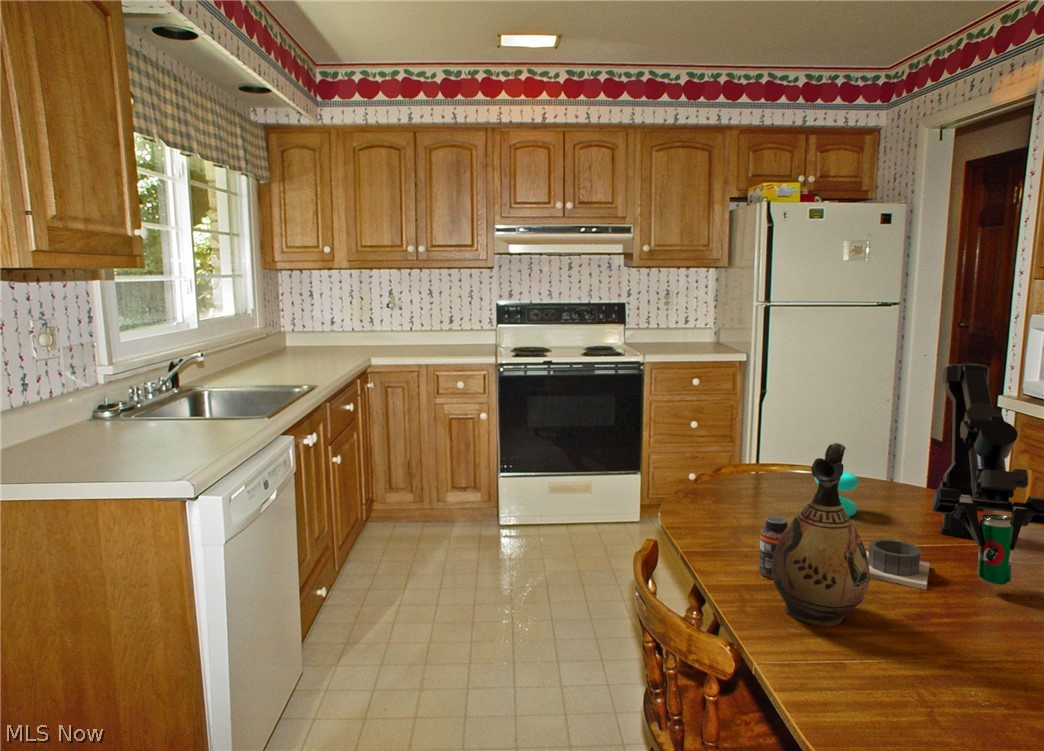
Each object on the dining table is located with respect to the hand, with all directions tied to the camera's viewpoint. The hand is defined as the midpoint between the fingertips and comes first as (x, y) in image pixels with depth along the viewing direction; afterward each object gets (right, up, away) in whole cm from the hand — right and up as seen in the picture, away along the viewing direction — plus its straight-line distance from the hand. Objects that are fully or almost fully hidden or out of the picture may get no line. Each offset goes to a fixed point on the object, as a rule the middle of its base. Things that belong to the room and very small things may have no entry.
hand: (996, 547), depth 122 cm
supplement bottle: (-36, -8, +11) cm, 39 cm away
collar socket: (-12, -8, +12) cm, 19 cm away
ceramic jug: (-34, -10, -4) cm, 36 cm away
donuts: (-8, -3, +47) cm, 48 cm away
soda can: (+1, -7, +2) cm, 7 cm away
